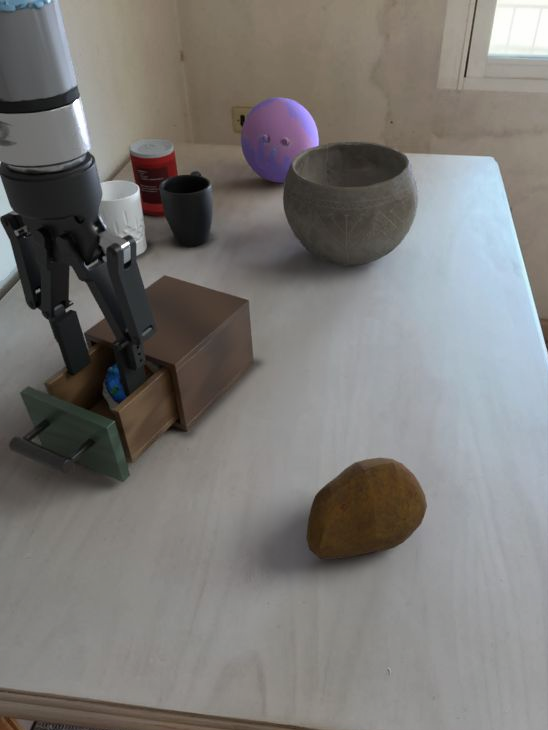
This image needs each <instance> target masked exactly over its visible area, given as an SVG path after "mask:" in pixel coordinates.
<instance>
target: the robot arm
mask: <svg viewBox="0 0 548 730" xmlns="http://www.w3.org/2000/svg"><path fill="white" fill-rule="evenodd" d="M60 3H61V2H60V0H0V179H1V180H0V181H1V182H2V186H3V188H4V192H5V195H6V197H7V198H6V199H7V201H8V203H9V206H10V208H11V210H12V211H9V212H6V213H5V214H2V215H0V224H1V226H2V227H3V229H4V231H5V234H6V236H7V238H8V240H9V243H10V246H11V249H12V254H13V257H14V261H15V265H16V268H17V273H18V276H19V280H20V284H21V288H22V291H23V295H24V299H25V303H26V306H27V307H28V308H30V309H31V310H34V311H35V310H36V309H38V310H40V311H41V315H42V316H43V318H44V319H46V320H48V323H49V326H50V329H51V331H52V335H53V337H54V340H55V341H56V343H57V344H58V347H59V350H60V353H61V356H62V359H63V362H64V365H65V366H66V368H67V371H68V374H70V375H73V376H74V375H76V374H77V373H78V372H80V371H81V370H82V369H83V368H85V367H86V366H87V365H89V364H90V363H91V359H90V356H89V353H88V346H87V343H86V339H85V336H84V332H83V330H82V326H81V323H80V319H79V316H78V312H77V310H73V309H69V308H70V307H71V306H73V305H74V302H72V300H70V299H69V298H70V297H69V296H70V267H71V268H72V269H73V271H74V273H75V275H76V277H77V278H78V280H79V281H80V282H84V283H85V284H86V285H87V287H88V289H89V291H90V293H91V294H92V296H93V299H94V301H95V302H96V304H97V306H98V307H99V310H100V311H101V313H102V315H103V317H104V318H105V319H106V320H107V322H108V324H109V326H110V328H111V330H112V332H113V333H114V335H115V337H116V339H117V340H116V341H114V342H113V343H112V348H113V352H114V356H115V359H116V363H117V367H118V371H119V375H120V378H121V382H122V386H123V390H124V394H125V396H127V397H128V396H129V395H130V394H132V393H133V392H134V391H135V390H136V389H137V388H138V387H140V386H141V385H142V384H143V383H144V382H145V381H147V378H146V374H145V370H144V364H145V362H146V358H145V353H144V349H143V344H142V343H143V342H145V341H146V340H147V339H148V338H150V337H151V336H152V335H153V334H155V333H156V332H157V327H156V324H155V321H154V317H153V314H152V311H151V307H150V304H149V301H148V297H147V294H146V291H145V289H146V288H145V285H144V281H143V278H142V274H141V270H140V268H139V265H138V261H137V256H136V241H135V239H134V238H133V237H132V236H130V235H127V236H125V237H123V238H122V239H121V238H119V237H117V236H115V235H113V234H111V233H109V232H108V230H107V227H106V225H105V223H104V222H103V220H102V218H101V216H100V213H99V206H100V202H101V199H102V188H101V183H102V182H101V180H100V179H101V178H100V175H99V170H98V166H97V162H96V158H95V156H94V155H93V154H92V153H91V152H90V150H91V148H92V147H93V144H92V139H91V134H90V131H89V127H88V123H87V118H86V114H85V110H84V106H83V102H82V96H81V94H80V91H79V87H78V81H77V77H76V73H75V67H74V64H73V59H72V55H71V50H70V46H69V45H70V44H69V40H68V35H67V31H66V27H65V22H64V17H63V13H62V8H61V4H60ZM96 261H97V262H96ZM91 264H92V265H91ZM90 265H91V266H90ZM88 266H89V267H88ZM38 290H39V291H38ZM37 291H38V292H37ZM67 309H68V310H67ZM66 310H67V311H66ZM126 328H127V329H126Z"/></svg>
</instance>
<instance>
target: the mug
mask: <svg viewBox="0 0 548 730" xmlns="http://www.w3.org/2000/svg"><path fill="white" fill-rule="evenodd" d="M159 188H160V194H161V201H162V206H163V210H164V213H165V215H164V216H165V219H166V221H167V224H168V227H169V229H170V231H171V233H172V235H173V237H174V239H175V242H176V243H177V244H178V245H179V246H182V247H188V248H190V247H191V248H195V247H200V246H202V245H205V244H206V243H208V241H209V240H210V234H211V229H212V228H211V227H212V221H213V214H214V201H213V200H214V199H213V191H212V190H213V189H212V183H211V181H210V179H208V178H207V177H205V176H202V172H200V171H198V170H194V171H191V173H190V174H180V175H179V174H178V176H173V177H170V178H167V179H165V180H163V181H162V182H161V183H160V185H159Z"/></svg>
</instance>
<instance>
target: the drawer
mask: <svg viewBox="0 0 548 730" xmlns="http://www.w3.org/2000/svg"><path fill="white" fill-rule="evenodd" d="M87 349H88V348H87ZM88 353H89V356H90V359H91V363H90V364H89V365H87V366H86V367H85V368H83V369H82V370H81V371H80V372H78V373H77V374H76V375H74V376H73V375H70V374H68V371H67V368H66V365H65V366H64V367H62V368H61V369H60V370H58V371H57V372H56V373H55V374H53V375H52V376H50V377H49V378H48V379H46V380H44V382H43V383H44V386H45V389H46V392H43V391H41V390H39V389H37V388H35V387H32V386H29V385H28V386H26V387H25V388H24V389H22V390H21V391H20V392H19V394H20V397H21V399H22V401H23V404H24V406H25V408H26V412H27V414H28V416H29V418H30V421H31V423H32V425H33V428H32V429H30V430H29V431H28V432H27V433H25V434H24V435H23V436H21V435H15V436H14V437H12V438H11V439H10V440H9V443H8V449H9V450H10V451H11V452H14V453H16V454H18V455H20V456H23V457H24V458H27V459H29V460H31V461H32V462H35V463H37V464H40V465H42V466H44V467H46V468H49V469H51V470H54V471H55V472H58V473H60V474H62V475H64V476H65V475H67V476H68V475H69V474H71V473H72V471H74V468H75V463H78V464H80V465H83V466H85V467H87V468H90V469H92V470H94V471H96V472H98V473H100V474H103V475H105V476H107V477H109V478H112V479H114V480H115V481H118V482H120V483H124V482H125V481H127V480H128V478H129V477H130V476H131V473H130V470H129V466H128V462H130V463H132V464H133V463H135V462H136V460H138V459H139V458H140V457H141V456H142V455H143V454H144V453H145V452H146V451H147V450H148V449H149V448H150V447H151V446H152V445H153V444H154V443H155V442H156V441H157V440H158V439H159V438H161V436H162V435H163V434H164V433H165V432H166V431H167V430H168V429H170V427H172V424H173V423H174V422H175V421H176V420H177V419H178V418H179V412H178V406H177V401H176V396H175V391H174V385H173V380H172V375H171V370H170V369H169V368H166V367H164V366H161V365H158V364H157V365H158V366H160V367H161V368H160V369H159V370H158V371H157V372H156V373H155V374H153V375H152V376H151V377H150V378H149V379H148V380H147V381H145V382H144V383H143V384H142V385H141V386H140V387H138V388H137V389H136V390H135V391H134V392H133V393H132V394H130V395H129V396H128V397H127V398H126V399H125V400H124V401H122V402H121V403H120V404H119V405H118V406H117V407H115V408H114V409H113V412H114V414H113V412H112V411H111V410H110V408H109V404H108V402H107V401H106V399H105V398H104V396H103V394H102V391H103V383H104V380H105V377H106V374H107V372H108V369H109V367H112V366H113V365H114V364H116V359H115V356H114V352H113V348H110V347H107V346H105V345H102V344H99V343H96V344H95V345H93V346H92V347H91V348H89V349H88ZM36 437H37V438H38V440H39V442H40V444H38V443H36V442H34V441H32V440H34V439H35V438H36Z"/></svg>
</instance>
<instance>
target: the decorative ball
mask: <svg viewBox="0 0 548 730" xmlns="http://www.w3.org/2000/svg"><path fill="white" fill-rule="evenodd" d="M317 127H318V126H317V125H316V122H315V120H314V118H313V116H312V115H311V114H310V112H309V110H307V108H305V107H304V106H303V105H302V104H300V103H299V102H298V101H296V100H293V99H290V98H286V97H271V98H268V99H267V98H266V99H265V100H263V101H261V102H259V103H257V104H256V105H255V106H254V107H253V108H251V110H250V111H249V113H248V114H247V115H246V117H245V119H244V122H243V124H242V128H241V133H240V146H241V149H242V153H243V156H244V159H245V161H246V163H247V164H248V166H249V167H250V168H251V170H252V171H253V172H254V173H255V174H256V175H258V176H259V177H260V178H263V179H264V180H266V181H268V182H272V183H279V184H281V183H282V184H283V183H284V184H285V179H286V175H287V172H288V170H289V167H290V164H291V162H292V161H293V159H294V158H295V157H296V156H297V155H298V154H300V153H301V152H302V151H306V150H307V149H309V148H312V147H316V146H320V145H319V143H320V138H319V131H318V128H317Z"/></svg>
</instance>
